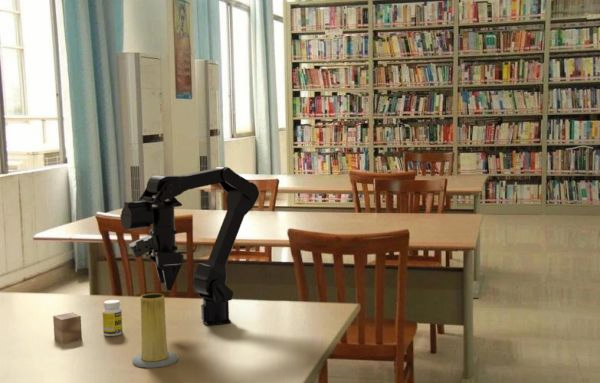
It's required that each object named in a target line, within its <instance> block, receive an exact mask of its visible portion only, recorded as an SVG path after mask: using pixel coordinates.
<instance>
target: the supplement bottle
mask: <svg viewBox="0 0 600 383" xmlns="http://www.w3.org/2000/svg"><path fill="white" fill-rule="evenodd" d="M103 308H104V309H103V310H102V329H103V330H102V331H103V336H105V337H115V336H117V337H118V336H120V335H121V334H123V314H122V308H121V302H120V300H118V299H109V300H105V301H104V302H103Z"/></svg>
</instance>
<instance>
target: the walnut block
mask: <svg viewBox="0 0 600 383" xmlns="http://www.w3.org/2000/svg"><path fill="white" fill-rule="evenodd" d="M52 319H53V336H54V337H53V338H54V340H56V341H57V342H59V343H60V344H66V343H70V342H72V343H73V342H77V341H79V340H80V341H81V340H83V334H82V316H81V315H80V314H77V313H74V312H67V313H62V314H55V315H53V316H52Z"/></svg>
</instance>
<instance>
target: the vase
mask: <svg viewBox="0 0 600 383" xmlns="http://www.w3.org/2000/svg"><path fill="white" fill-rule="evenodd" d="M165 304H166V301H165V294H163V293H159V292H158V293H157V292H152V293H145V294H142V295H140V319H141V320H140V321H141V330H140V331H141V354H142V355H141V359H142V360H143V361H147V362H156V361H162V360H165V359H166V358H168V356H169V355H168V352H169V351H168V341H167V340H168V339H167V328H166V327H167V326H166V305H165Z"/></svg>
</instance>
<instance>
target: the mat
mask: <svg viewBox="0 0 600 383" xmlns="http://www.w3.org/2000/svg"><path fill="white" fill-rule="evenodd" d="M141 355H142V353H141V354H137V355H136V356H134V357H133V358H132V364H134V365H133V366H135V365H136V366H135V367H137V366H139V367H138V368H141V367H146V368H145V369H157V368H158V367H159V368H165V367H167V366H171V365H174V364H175V363H177V361H178V359H179V357H178V354H177V353H176V352H171V351H168V355H169V356H168V358H166V359H165V360H162V361H156V362H147V361H143V360H142V359H141Z"/></svg>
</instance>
